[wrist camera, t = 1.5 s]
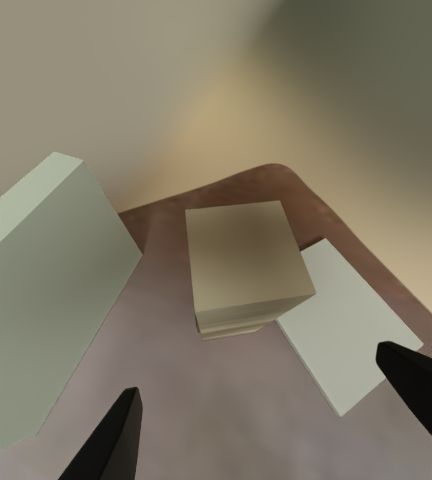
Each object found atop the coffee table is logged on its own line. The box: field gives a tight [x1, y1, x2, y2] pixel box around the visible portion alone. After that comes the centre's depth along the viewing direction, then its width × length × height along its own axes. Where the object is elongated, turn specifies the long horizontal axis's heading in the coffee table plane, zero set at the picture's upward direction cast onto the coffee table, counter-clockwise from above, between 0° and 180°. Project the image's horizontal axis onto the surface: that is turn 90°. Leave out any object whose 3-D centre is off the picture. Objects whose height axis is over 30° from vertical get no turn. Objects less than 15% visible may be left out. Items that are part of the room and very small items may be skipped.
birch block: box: [185, 201, 317, 341], centre depth 14 cm, size 4×5×12 cm
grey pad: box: [275, 238, 424, 417], centre depth 19 cm, size 12×10×1 cm
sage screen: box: [0, 152, 143, 450], centre depth 13 cm, size 2×15×12 cm, turn 161°
